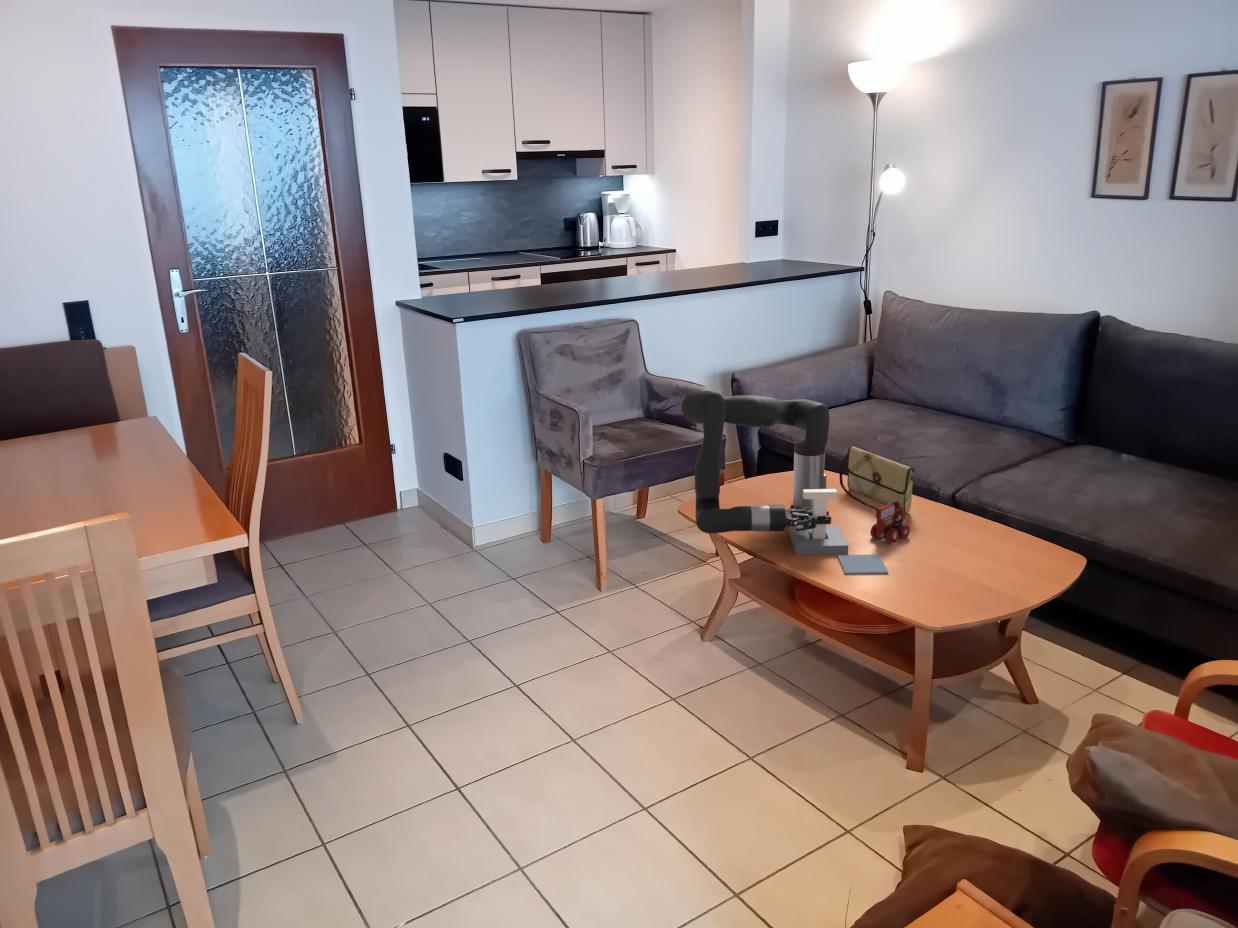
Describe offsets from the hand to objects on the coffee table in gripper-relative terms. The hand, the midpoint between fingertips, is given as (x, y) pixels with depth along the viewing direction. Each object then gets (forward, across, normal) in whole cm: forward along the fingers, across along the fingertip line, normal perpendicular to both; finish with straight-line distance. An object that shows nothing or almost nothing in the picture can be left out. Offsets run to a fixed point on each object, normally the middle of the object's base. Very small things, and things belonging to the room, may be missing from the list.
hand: (829, 517), depth 245 cm
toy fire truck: (+18, +4, +8) cm, 20 cm away
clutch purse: (+19, +31, +8) cm, 38 cm away
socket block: (-3, 0, +8) cm, 8 cm away
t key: (-3, 0, +8) cm, 8 cm away
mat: (+7, -14, +8) cm, 18 cm away
